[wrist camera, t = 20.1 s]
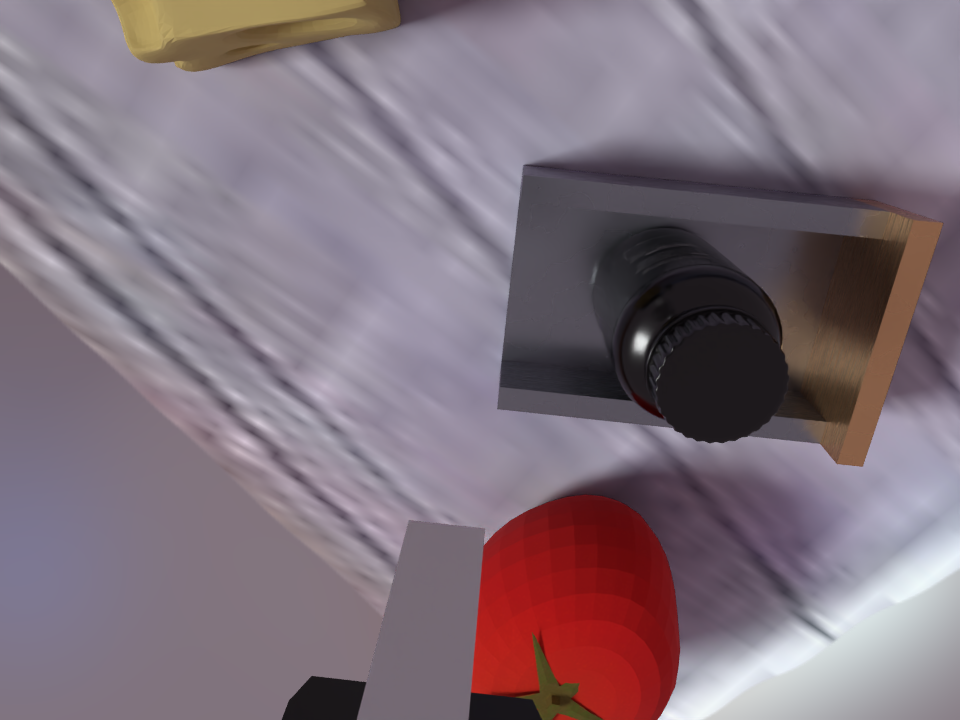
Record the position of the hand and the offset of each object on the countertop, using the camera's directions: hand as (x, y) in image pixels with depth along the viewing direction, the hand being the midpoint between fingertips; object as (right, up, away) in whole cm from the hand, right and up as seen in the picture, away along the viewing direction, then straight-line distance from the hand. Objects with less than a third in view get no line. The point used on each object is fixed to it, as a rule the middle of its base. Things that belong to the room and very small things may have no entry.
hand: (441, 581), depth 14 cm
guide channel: (+10, +8, +22) cm, 26 cm away
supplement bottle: (+10, +8, +22) cm, 26 cm away
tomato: (+6, -7, +29) cm, 31 cm away
